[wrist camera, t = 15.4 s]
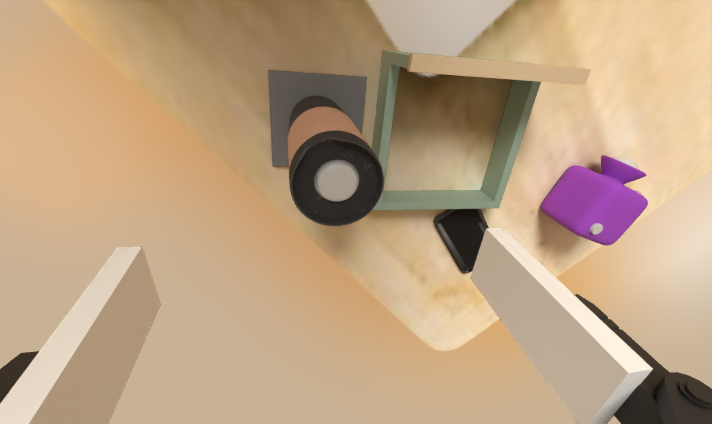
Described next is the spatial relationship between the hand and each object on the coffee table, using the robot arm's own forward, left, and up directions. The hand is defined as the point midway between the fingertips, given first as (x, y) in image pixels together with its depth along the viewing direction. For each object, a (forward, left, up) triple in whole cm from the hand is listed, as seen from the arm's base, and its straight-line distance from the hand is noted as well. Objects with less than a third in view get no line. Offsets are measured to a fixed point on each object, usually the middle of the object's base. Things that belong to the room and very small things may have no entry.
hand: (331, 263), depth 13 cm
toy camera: (+11, +47, -33) cm, 59 cm away
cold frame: (+3, +20, -33) cm, 39 cm away
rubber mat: (+2, +2, -33) cm, 33 cm away
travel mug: (+2, +2, -33) cm, 33 cm away
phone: (+21, +29, -33) cm, 49 cm away
